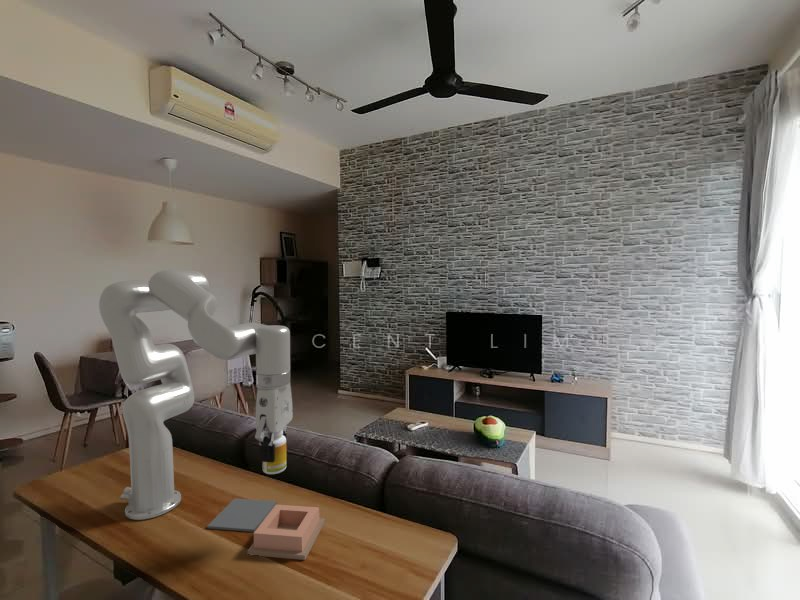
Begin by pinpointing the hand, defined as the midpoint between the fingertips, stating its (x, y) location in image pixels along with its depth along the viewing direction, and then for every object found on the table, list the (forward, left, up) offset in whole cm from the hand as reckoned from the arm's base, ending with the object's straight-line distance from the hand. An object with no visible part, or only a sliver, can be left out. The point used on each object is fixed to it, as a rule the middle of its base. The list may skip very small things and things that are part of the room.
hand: (274, 454), depth 91 cm
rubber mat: (-11, +5, -19) cm, 22 cm away
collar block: (+4, -2, -19) cm, 19 cm away
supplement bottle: (0, 0, -4) cm, 4 cm away
